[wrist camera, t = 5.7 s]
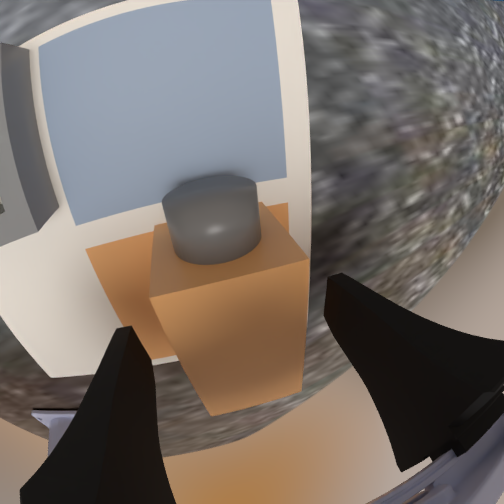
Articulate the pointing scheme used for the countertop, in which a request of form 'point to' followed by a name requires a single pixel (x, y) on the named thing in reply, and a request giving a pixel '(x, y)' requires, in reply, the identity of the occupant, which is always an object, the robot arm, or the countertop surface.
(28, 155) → the button housing
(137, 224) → the sheet
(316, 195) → the countertop surface
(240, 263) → the orange marker
